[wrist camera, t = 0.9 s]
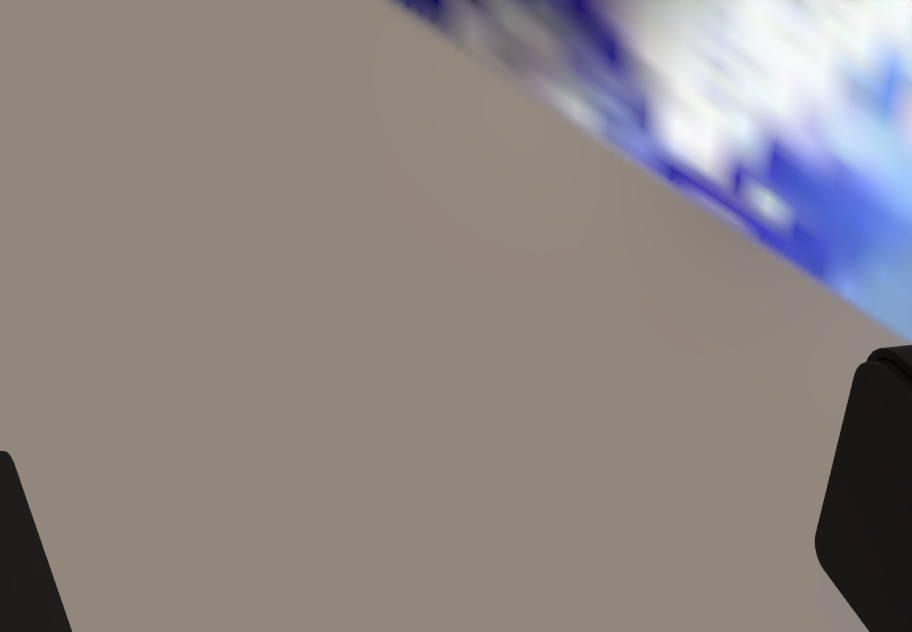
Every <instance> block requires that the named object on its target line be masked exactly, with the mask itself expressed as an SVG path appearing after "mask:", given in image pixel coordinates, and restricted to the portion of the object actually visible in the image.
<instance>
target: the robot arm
mask: <svg viewBox="0 0 912 632" xmlns="http://www.w3.org/2000/svg"><path fill="white" fill-rule="evenodd" d="M815 549H816V554H817V557H818V560H819V562H820V564H821V566H822V568H823V569H824V571H825V572H826V573H827V575H828V576H829V577H830V579H831V580H832V582H833V583H834V584H835V586H836V587H837V588H838V590H839V591H840V592H841V594H842V595H843V597H844V598H845V599H846V601H847V602H848V603H849V605H850V606H851V607H852V609H853V610H854V611H855V613H856V614H857V615H858V617H859V618H860V620H861V621H862V622H863V624H864V625H865V626H866V628H867V629H868V630H869V632H912V345H907V346H897V347H888V348H879V349H877V350H875V351H873V352H872V354H870V356H869V357H868V359H867V361H866V362H865V363H862V364H860V366H859V367H858V368H857V369H856V372H855V375H854V378H853V382H852V386H851V391H850V395H849V399H848V403H847V407H846V411H845V415H844V419H843V424H842V428H841V432H840V436H839V440H838V444H837V449H836V452H835V457H834V461H833V465H832V469H831V474H830V477H829V482H828V485H827V490H826V493H825V498H824V502H823V506H822V510H821V514H820V518H819V522H818V526H817V531H816V535H815ZM0 632H72V630H71V627H70V624H69V621H68V618H67V615H66V612H65V610H64V607H63V604H62V601H61V598H60V595H59V592H58V589H57V586H56V583H55V581H54V578H53V575H52V572H51V569H50V566H49V563H48V560H47V557H46V554H45V551H44V549H43V546H42V543H41V540H40V537H39V534H38V531H37V528H36V526H35V522H34V520H33V517H32V514H31V511H30V508H29V505H28V502H27V499H26V496H25V493H24V490H23V488H22V485H21V482H20V479H19V476H18V473H17V470H16V468H15V464H14V462H13V460H12V458H11V456H10V455H9V454H8V453H7V452H5V451H0Z"/></svg>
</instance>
